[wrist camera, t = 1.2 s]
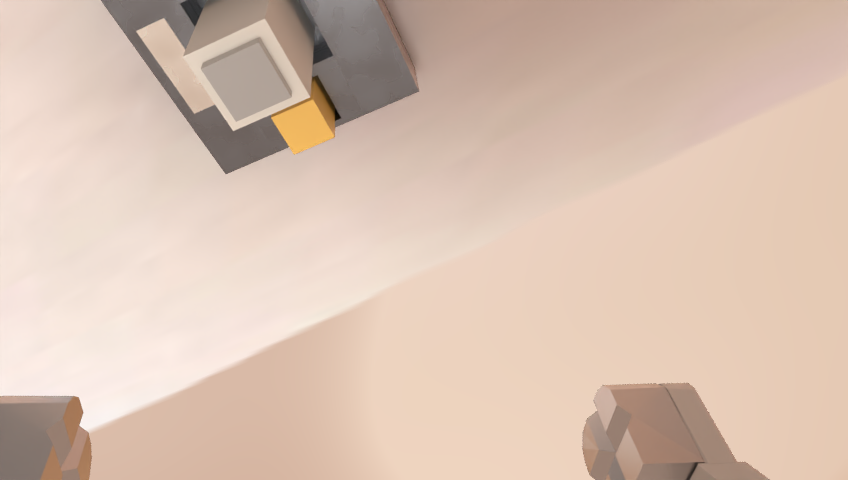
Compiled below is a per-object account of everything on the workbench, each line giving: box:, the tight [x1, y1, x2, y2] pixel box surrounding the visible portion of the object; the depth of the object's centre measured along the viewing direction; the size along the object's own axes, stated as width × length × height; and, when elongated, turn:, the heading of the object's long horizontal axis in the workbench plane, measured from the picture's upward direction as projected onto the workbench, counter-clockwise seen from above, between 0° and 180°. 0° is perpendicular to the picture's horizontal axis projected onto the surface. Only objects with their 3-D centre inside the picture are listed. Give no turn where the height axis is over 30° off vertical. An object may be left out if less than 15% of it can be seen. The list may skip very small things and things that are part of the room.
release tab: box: [271, 75, 335, 154], centre depth 39 cm, size 2×2×4 cm
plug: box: [183, 0, 315, 131], centre depth 34 cm, size 4×4×9 cm
